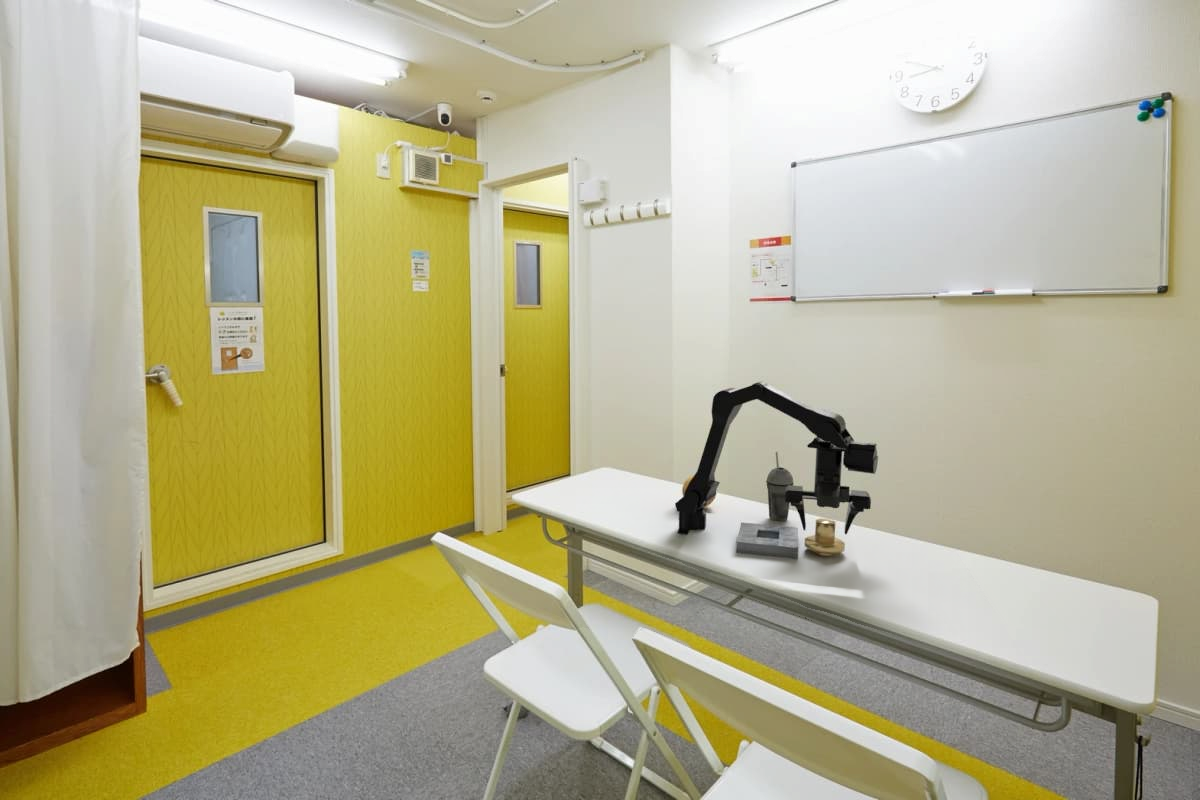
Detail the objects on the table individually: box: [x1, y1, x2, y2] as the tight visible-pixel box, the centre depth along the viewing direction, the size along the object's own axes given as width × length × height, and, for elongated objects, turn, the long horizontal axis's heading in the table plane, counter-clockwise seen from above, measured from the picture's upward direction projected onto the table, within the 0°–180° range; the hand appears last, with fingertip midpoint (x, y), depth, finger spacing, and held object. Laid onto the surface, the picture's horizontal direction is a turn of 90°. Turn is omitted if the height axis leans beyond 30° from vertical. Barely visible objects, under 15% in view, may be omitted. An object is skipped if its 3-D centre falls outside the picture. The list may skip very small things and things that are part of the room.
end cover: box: [804, 518, 846, 557], centre depth 153 cm, size 9×9×9 cm
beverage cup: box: [766, 451, 794, 522], centre depth 176 cm, size 7×7×20 cm
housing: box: [735, 522, 799, 560], centre depth 158 cm, size 14×14×4 cm
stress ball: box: [681, 474, 716, 508], centre depth 190 cm, size 10×10×10 cm
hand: (824, 531), depth 152 cm, fingers open, 9 cm apart
